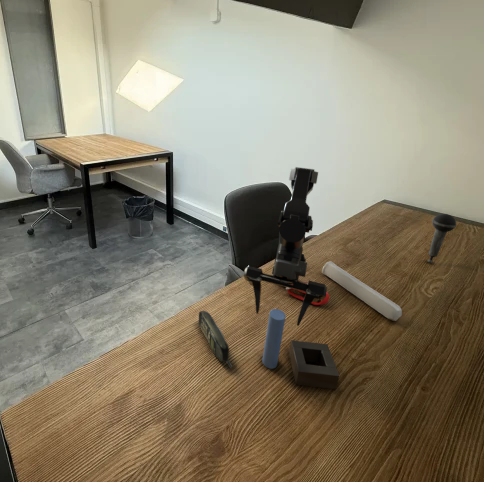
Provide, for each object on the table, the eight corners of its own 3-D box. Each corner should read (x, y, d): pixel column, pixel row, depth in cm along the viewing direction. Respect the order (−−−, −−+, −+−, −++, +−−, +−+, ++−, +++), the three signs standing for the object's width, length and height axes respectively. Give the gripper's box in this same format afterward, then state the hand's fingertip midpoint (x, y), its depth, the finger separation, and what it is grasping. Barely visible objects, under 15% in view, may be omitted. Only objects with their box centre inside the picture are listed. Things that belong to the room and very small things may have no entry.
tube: (409, 308, 84) (335, 261, 105) (399, 308, 81) (326, 260, 102) (400, 324, 85) (329, 274, 106) (390, 325, 83) (319, 274, 104)
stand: (288, 352, 73) (291, 340, 72) (324, 356, 73) (327, 344, 71) (295, 384, 66) (298, 371, 64) (335, 389, 65) (339, 376, 64)
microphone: (421, 265, 113) (438, 216, 106) (416, 256, 119) (432, 209, 112) (443, 269, 110) (462, 220, 104) (437, 260, 116) (455, 212, 110)
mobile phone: (196, 310, 79) (224, 354, 66) (207, 307, 80) (236, 350, 67) (196, 325, 81) (223, 371, 68) (206, 322, 82) (234, 367, 69)
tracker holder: (311, 280, 100) (337, 291, 91) (308, 293, 100) (334, 306, 91) (283, 280, 94) (308, 292, 85) (280, 294, 94) (305, 308, 85)
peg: (259, 360, 71) (266, 312, 66) (269, 353, 73) (276, 306, 68) (270, 371, 68) (278, 322, 64) (280, 364, 70) (288, 316, 66)
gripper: (249, 236, 72) (233, 303, 66) (334, 254, 66) (325, 329, 60) (252, 250, 82) (239, 309, 76) (326, 266, 75) (318, 332, 69)
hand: (277, 319), depth 70 cm, fingers open, 9 cm apart
